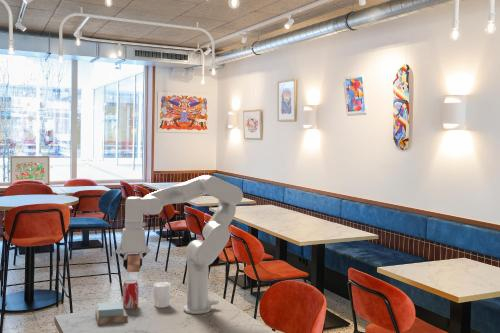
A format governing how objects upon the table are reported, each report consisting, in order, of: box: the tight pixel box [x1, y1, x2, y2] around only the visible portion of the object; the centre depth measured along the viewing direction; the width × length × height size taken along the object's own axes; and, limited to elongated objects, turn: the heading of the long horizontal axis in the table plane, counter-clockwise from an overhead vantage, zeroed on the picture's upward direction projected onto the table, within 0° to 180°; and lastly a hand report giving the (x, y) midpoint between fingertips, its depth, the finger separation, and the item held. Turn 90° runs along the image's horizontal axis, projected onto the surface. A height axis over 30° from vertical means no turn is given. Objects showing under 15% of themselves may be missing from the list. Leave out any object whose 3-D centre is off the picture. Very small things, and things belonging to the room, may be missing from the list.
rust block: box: [125, 253, 141, 273], centre depth 222 cm, size 5×5×7 cm
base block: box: [95, 307, 128, 325], centre depth 223 cm, size 12×12×3 cm
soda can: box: [122, 279, 140, 310], centre depth 238 cm, size 7×7×12 cm
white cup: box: [152, 281, 172, 309], centre depth 241 cm, size 8×8×10 cm
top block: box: [97, 300, 123, 317], centre depth 223 cm, size 10×10×3 cm
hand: (132, 267), depth 223 cm, fingers closed on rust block, 5 cm apart
